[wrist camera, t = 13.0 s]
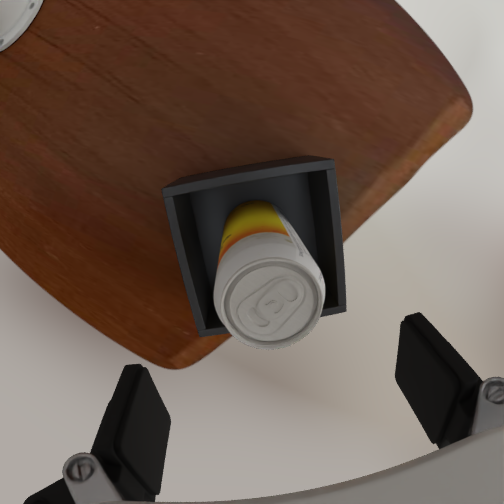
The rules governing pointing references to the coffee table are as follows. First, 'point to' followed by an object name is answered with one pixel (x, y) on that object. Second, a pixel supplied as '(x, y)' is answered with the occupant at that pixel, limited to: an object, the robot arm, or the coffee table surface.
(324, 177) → the basket
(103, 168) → the coffee table surface
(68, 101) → the coffee table surface
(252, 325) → the beer can
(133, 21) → the coffee table surface
